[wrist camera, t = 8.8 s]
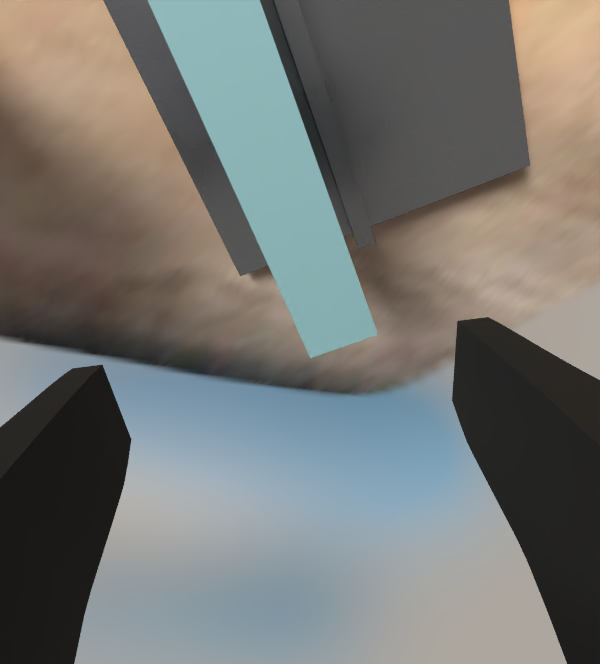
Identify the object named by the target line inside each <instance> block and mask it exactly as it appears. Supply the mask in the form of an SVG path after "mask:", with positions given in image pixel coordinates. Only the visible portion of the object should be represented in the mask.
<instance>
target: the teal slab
mask: <svg viewBox="0 0 600 664" xmlns="http://www.w3.org/2000/svg"><path fill="white" fill-rule="evenodd" d="M148 2H149V5H150V7H151V9H152V11H153V13H154V16H155V18H156V20H157V22H158V24H159V26H160V29H161V31H162V33H163V35H164V37H165V40H166V42H167V44H168V46H169V48H170V51H171V53H172V55H173V57H174V59H175V62H176V64H177V66H178V68H179V70H180V73H181V75H182V77H183V79H184V81H185V84H186V86H187V88H188V90H189V92H190V95H191V97H192V99H193V101H194V103H195V106H196V108H197V110H198V112H199V114H200V117H201V119H202V121H203V123H204V125H205V128H206V130H207V132H208V134H209V136H210V139H211V141H212V143H213V145H214V147H215V150H216V152H217V154H218V156H219V158H220V160H221V163H222V165H223V167H224V169H225V171H226V174H227V176H228V178H229V180H230V182H231V185H232V187H233V189H234V191H235V193H236V196H237V198H238V200H239V202H240V204H241V207H242V209H243V211H244V213H245V215H246V218H247V220H248V222H249V224H250V226H251V229H252V231H253V233H254V235H255V237H256V240H257V242H258V244H259V246H260V248H261V251H262V253H263V255H264V257H265V259H266V262H267V264H268V266H269V268H270V270H271V273H272V275H273V277H274V279H275V281H276V284H277V286H278V288H279V290H280V292H281V295H282V297H283V299H284V301H285V303H286V305H287V308H288V310H289V312H290V314H291V316H292V319H293V321H294V323H295V325H296V327H297V330H298V332H299V334H300V336H301V338H302V341H303V343H304V345H305V347H306V349H307V352H308V354H309V356H310V358H312V357H315V356H318V355H321V354H324V353H327V352H329V351H332V350H335V349H338V348H341V347H344V346H347V345H350V344H352V343H355V342H358V341H361V340H364V339H367V338H370V337H372V336H375V335H378V333H377V330H376V328H375V325H374V322H373V319H372V316H371V313H370V311H369V308H368V305H367V302H366V299H365V296H364V294H363V291H362V288H361V285H360V282H359V279H358V277H357V274H356V271H355V268H354V265H353V263H352V260H351V257H350V254H349V251H348V248H347V246H346V243H345V240H344V237H343V234H342V231H341V229H340V226H339V223H338V220H337V217H336V214H335V212H334V209H333V206H332V203H331V200H330V197H329V195H328V192H327V189H326V186H325V183H324V180H323V178H322V175H321V172H320V169H319V166H318V164H317V161H316V158H315V155H314V152H313V149H312V147H311V144H310V141H309V138H308V135H307V132H306V130H305V127H304V124H303V121H302V118H301V115H300V113H299V110H298V107H297V104H296V101H295V98H294V96H293V93H292V90H291V87H290V84H289V82H288V79H287V76H286V73H285V70H284V67H283V65H282V62H281V59H280V56H279V53H278V50H277V48H276V45H275V42H274V39H273V36H272V33H271V31H270V28H269V25H268V22H267V19H266V16H265V14H264V11H263V8H262V5H261V2H260V0H148Z"/></svg>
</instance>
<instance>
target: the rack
mask: <svg viewBox="0 0 600 664" xmlns="http://www.w3.org/2000/svg"><path fill="white" fill-rule="evenodd" d="M104 2H105V4H106V6H107V8H108V11H109V13H110V15H111V17H112V19H113V21H114V23H115V25H116V27H117V29H118V31H119V33H120V35H121V37H122V39H123V41H124V43H125V45H126V47H127V49H128V51H129V53H130V55H131V57H132V59H133V61H134V63H135V65H136V67H137V69H138V71H139V73H140V75H141V77H142V79H143V81H144V83H145V85H146V87H147V89H148V91H149V93H150V95H151V97H152V99H153V101H154V103H155V105H156V107H157V109H158V111H159V113H160V115H161V117H162V119H163V121H164V123H165V125H166V127H167V129H168V131H169V133H170V135H171V137H172V139H173V141H174V143H175V145H176V147H177V149H178V151H179V153H180V155H181V158H182V160H183V162H184V164H185V166H186V168H187V170H188V172H189V174H190V176H191V178H192V180H193V182H194V184H195V186H196V188H197V190H198V192H199V194H200V196H201V198H202V200H203V202H204V204H205V206H206V208H207V210H208V212H209V214H210V216H211V218H212V220H213V222H214V224H215V226H216V228H217V230H218V232H219V234H220V236H221V238H222V240H223V242H224V244H225V246H226V248H227V250H228V252H229V254H230V256H231V258H232V260H233V262H234V264H235V266H236V268H237V270H238V272H239V274H240V276H242V275H245V274H247V273H250V272H252V271H255V270H258V269H260V268H263V267H266V266H268V264H267V262H266V259H265V257H264V255H263V253H262V251H261V248H260V246H259V244H258V242H257V240H256V237H255V235H254V233H253V231H252V229H251V226H250V224H249V222H248V220H247V218H246V215H245V213H244V211H243V209H242V207H241V204H240V202H239V200H238V198H237V196H236V193H235V191H234V189H233V187H232V185H231V182H230V180H229V178H228V176H227V174H226V171H225V169H224V167H223V165H222V163H221V160H220V158H219V156H218V154H217V152H216V150H215V147H214V145H213V143H212V141H211V139H210V136H209V134H208V132H207V130H206V128H205V125H204V123H203V121H202V119H201V117H200V114H199V112H198V110H197V108H196V106H195V103H194V101H193V99H192V97H191V95H190V92H189V90H188V88H187V86H186V84H185V81H184V79H183V77H182V75H181V73H180V70H179V68H178V66H177V64H176V62H175V59H174V57H173V55H172V53H171V51H170V48H169V46H168V44H167V42H166V40H165V37H164V35H163V33H162V31H161V29H160V26H159V24H158V22H157V20H156V18H155V16H154V13H153V11H152V9H151V7H150V5H149V2H148V0H104ZM260 2H261V5H262V8H263V11H264V14H265V16H266V19H267V22H268V25H269V28H270V31H271V33H272V36H273V39H274V42H275V45H276V48H277V50H278V53H279V56H280V59H281V62H282V65H283V67H284V70H285V73H286V76H287V79H288V82H289V84H290V87H291V90H292V93H293V96H294V98H295V101H296V104H297V107H298V110H299V113H300V115H301V118H302V121H303V124H304V127H305V130H306V132H307V135H308V138H309V141H310V144H311V147H312V149H313V152H314V155H315V158H316V161H317V164H318V166H319V169H320V172H321V175H322V178H323V180H324V183H325V186H326V189H327V192H328V195H329V197H330V200H331V203H332V206H333V209H334V212H335V214H336V217H337V220H338V223H339V226H340V229H341V231H342V234H343V237H344V236H347V235H349V234H353V236H354V238H355V241H356V243H357V246H358V248H359V249H360V248H363V247H365V246H368V245H371V244H373V243H375V240H374V237H373V234H372V231H371V227H370V226H373V225H376V224H378V223H381V222H383V221H386V220H389V219H391V218H394V217H396V216H399V215H402V214H404V213H407V212H410V211H412V210H415V209H417V208H420V207H423V206H425V205H428V204H431V203H433V202H436V201H438V200H441V199H444V198H446V197H449V196H451V195H454V194H457V193H459V192H462V191H465V190H467V189H470V188H472V187H475V186H478V185H480V184H483V183H486V182H488V181H491V180H493V179H496V178H499V177H501V176H504V175H506V174H509V173H512V172H514V171H517V170H520V169H522V168H525V167H527V166H530V162H529V154H528V146H527V138H526V131H525V123H524V115H523V108H522V100H521V92H520V84H519V77H518V69H517V61H516V54H515V46H514V38H513V30H512V23H511V15H510V7H509V0H260Z"/></svg>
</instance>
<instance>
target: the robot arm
mask: <svg viewBox="0 0 600 664" xmlns="http://www.w3.org/2000/svg"><path fill="white" fill-rule="evenodd" d="M452 401H453V404H454V406H455V410H456V413H457V415H458V418H459V421H460V424H461V427H462V430H463V432H464V435H465V438H466V440H467V443H468V444H469V447H470V449H471V451H472V453H473V455H474V457H475V459H476V461H477V463H478V465H479V467H480V469H481V470H482V472H483V474H484V476H485V478H486V480H487V482H488V484H489V486H490V488H491V490H492V492H493V493H494V496H495V497H496V499H497V501H498V503H499V505H500V507H501V509H502V511H503V513H504V515H505V517H506V518H507V520H508V522H509V524H510V526H511V528H512V530H513V531H514V534H515V536H516V538H517V540H518V542H519V544H520V546H521V548H522V550H523V553H524V555H525V557H526V559H527V561H528V564H529V566H530V569H531V571H532V573H533V576H534V579H535V581H536V583H537V586H538V589H539V591H540V594H541V596H542V599H543V601H544V603H545V606H546V608H547V611H548V614H549V616H550V619H551V622H552V624H553V627H554V630H555V632H556V635H557V638H558V640H559V643H560V646H561V648H562V651H563V654H564V656H565V659H566V661H567V664H600V380H598V379H596V378H595V377H593V376H591V375H589V374H587V373H585V372H583V371H581V370H580V369H578V368H576V367H574V366H572V365H571V364H569V363H567V362H565V361H563V360H562V359H560V358H558V357H557V356H555V355H553V354H551V353H550V352H548V351H546V350H544V349H543V348H541V347H539V346H538V345H536V344H534V343H532V342H531V341H529V340H527V339H526V338H524V337H522V336H521V335H519V334H517V333H516V332H514V331H512V330H510V329H509V328H507V327H505V326H503V325H502V324H500V323H498V322H496V321H494V320H492V319H490V318H488V317H487V318H479V319H470V320H462V321H458V322H457V337H456V352H455V367H454V382H453V397H452ZM130 444H131V438H130V435H129V432H128V430H127V427H126V425H125V422H124V419H123V417H122V414H121V412H120V409H119V407H118V404H117V401H116V399H115V396H114V394H113V391H112V389H111V386H110V383H109V381H108V378H107V376H106V373H105V370H104V368H103V365H97V366H90V367H81V368H73V369H71V370H70V371H69V372H67V373H66V374H64V375H63V376H62V377H60V378H59V379H58V380H57V381H55V382H54V383H53V384H51V385H50V386H49V387H48V388H47V389H45V390H44V391H43V392H42V393H41V394H39V395H38V396H37V397H36V398H35V399H34V400H33V401H31V402H30V403H29V404H28V405H27V406H25V407H24V408H23V409H22V410H21V411H20V412H18V413H17V414H16V415H15V416H14V417H12V418H11V419H10V420H9V421H8V422H6V423H5V424H4V425H3V426H1V427H0V664H74V662H75V657H76V652H77V647H78V642H79V638H80V633H81V628H82V623H83V618H84V614H85V610H86V607H87V602H88V599H89V596H90V592H91V588H92V585H93V582H94V579H95V576H96V573H97V569H98V566H99V563H100V560H101V557H102V554H103V550H104V547H105V544H106V541H107V538H108V535H109V532H110V528H111V525H112V522H113V519H114V516H115V512H116V509H117V506H118V503H119V499H120V496H121V492H122V489H123V485H124V481H125V476H126V470H127V465H128V458H129V451H130Z"/></svg>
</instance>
